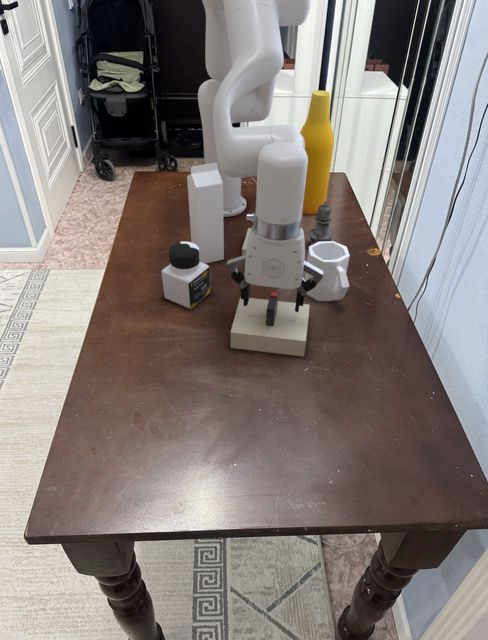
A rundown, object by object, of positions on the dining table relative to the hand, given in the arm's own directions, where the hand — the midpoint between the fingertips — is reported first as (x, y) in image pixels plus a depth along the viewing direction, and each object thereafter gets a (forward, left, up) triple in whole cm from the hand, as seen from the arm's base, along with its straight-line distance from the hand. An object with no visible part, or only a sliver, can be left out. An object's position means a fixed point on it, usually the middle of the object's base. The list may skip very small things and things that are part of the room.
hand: (271, 304), depth 93 cm
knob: (0, 0, -3) cm, 3 cm away
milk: (-18, +25, -7) cm, 31 cm away
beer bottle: (+4, +54, -7) cm, 54 cm away
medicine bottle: (-19, +9, -7) cm, 22 cm away
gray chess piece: (+8, +34, -7) cm, 35 cm away
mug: (+11, +14, -7) cm, 19 cm away
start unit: (-4, +31, -7) cm, 32 cm away
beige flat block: (0, 0, -7) cm, 7 cm away
